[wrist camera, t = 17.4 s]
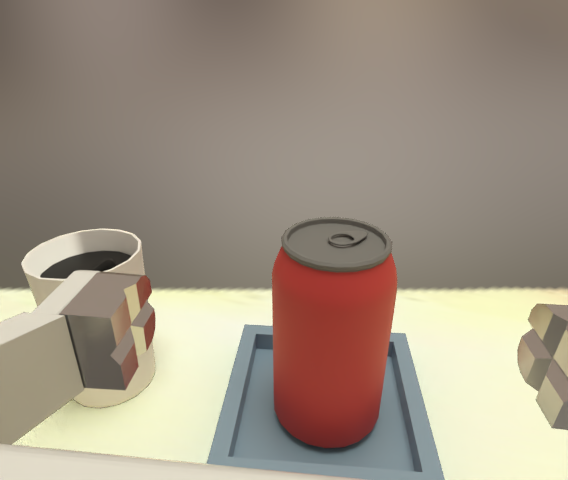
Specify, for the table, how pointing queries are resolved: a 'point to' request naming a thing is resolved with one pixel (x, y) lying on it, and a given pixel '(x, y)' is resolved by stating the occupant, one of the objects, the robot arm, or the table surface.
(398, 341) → the slate tray
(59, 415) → the table surface
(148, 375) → the white coffee cup
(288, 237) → the beer can
